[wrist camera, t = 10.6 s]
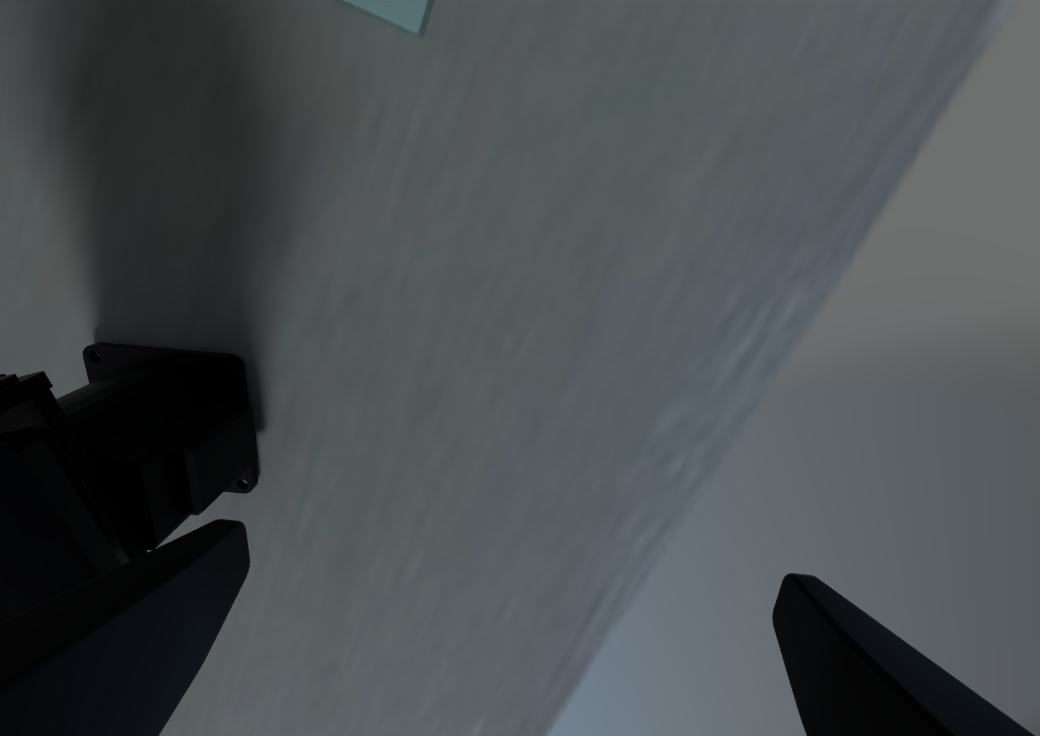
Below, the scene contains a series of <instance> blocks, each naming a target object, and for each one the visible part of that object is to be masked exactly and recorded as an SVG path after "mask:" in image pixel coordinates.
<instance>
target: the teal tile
mask: <svg viewBox="0 0 1040 736" xmlns="http://www.w3.org/2000/svg"><path fill="white" fill-rule="evenodd" d="M339 1H341V2H343V3H346V4H348V5H350V6H352V7H354V8H357V9H359V10H361V11H363V12H365V13H368V14H370V15H372V16H374V17H376V18H379V19H381V20H383V21H385V22H387V23H390V24H392V25H394V26H396V27H398V28H401V29H403V30H405V31H407V32H409V33H411V34H414V35H416V36H418V37H420V38H422V37H423V34H424V30H425V27H426V24H427V20H428V17H429V13H430V10H431V7H432V3H433V0H339Z"/></svg>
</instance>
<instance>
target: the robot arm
mask: <svg viewBox="0 0 1040 736" xmlns="http://www.w3.org/2000/svg"><path fill="white" fill-rule="evenodd" d="M97 353H98V354H99V355H100V356H101V359H100V358H99V357H98V355H97ZM83 358H84V363H85V367H86V371H87V376H88V380H89V384H88V385H86V386H84V387H82V388H79V389H77V390H75V391H73V392H71V393H69V394H66V395H64V396H62V397H60V398H58V399H56V398H55V397H54V395H53V393H52V392H51V390H50V388H51V387H53V386H52V384H51V382H50V381H49V379H48V377H47V376H46V374H45V372H44V371H41V372H37V373H33V374H29V375H25V376H21V377H17V376H16V374H12V375H7V376H6V375H5V374H1V375H0V736H159V735H160V733H161V731H162V730H163V728H164V726H165V725H166V723H167V722H168V720H169V718H170V717H171V715H172V714H173V712H174V710H175V709H176V707H177V706H178V704H179V702H180V701H181V699H182V697H183V696H184V694H185V693H186V691H187V689H188V688H189V686H190V685H191V683H192V681H193V680H194V678H195V676H196V675H197V673H198V671H199V670H200V668H201V666H202V664H203V663H204V661H205V659H206V657H207V655H208V653H209V651H210V649H211V647H212V645H213V643H214V641H215V639H216V637H217V635H218V633H219V631H220V629H221V627H222V625H223V623H224V621H225V619H226V617H227V615H228V613H229V611H230V609H231V607H232V605H233V603H234V601H235V599H236V597H237V595H238V593H239V591H240V589H241V587H242V585H243V583H244V581H245V579H246V577H247V574H248V571H249V567H250V556H249V548H248V541H247V533H246V528H245V525H244V524H243V523H242V522H240V521H235V520H224V519H218V520H215V521H212V522H210V523H208V524H206V525H204V526H202V527H200V528H198V529H196V530H194V531H192V532H189V533H187V534H185V535H183V536H181V537H179V538H177V539H175V540H173V541H171V542H169V543H167V544H165V545H162V546H160V547H158V548H156V547H157V546H159V545H160V544H161V543H162V542H163V541H164V540H165V539H166V538H167V537H168V536H169V535H170V534H171V533H172V532H173V531H174V530H175V529H176V528H177V527H178V526H179V525H180V524H182V523H183V522H184V521H185V520H186V519H187V518H188V517H189V516H190V515H199V514H201V513H202V512H203V511H204V510H205V509H206V508H207V507H208V506H209V505H210V504H211V503H212V502H213V501H214V500H215V499H217V498H218V497H219V496H220V495H221V494H222V493H223V492H233V493H249V492H251V491H252V490H253V489H254V487H255V486H256V485H257V484H258V476H257V468H256V459H257V457H258V455H257V446H256V438H255V429H254V420H253V412H252V408H251V406H250V405H249V400H248V392H247V384H246V375H245V367H244V363H243V361H242V360H241V359H240V358H239V357H238V356H236V355H233V354H224V353H213V352H201V351H190V350H178V349H167V348H156V347H144V346H133V345H121V344H110V343H95V344H92V345H90V346H87V347H86V348H84V350H83ZM227 363H228V364H230V365H231V366H232V367H233V371H231V370H229V369H228V368H227ZM242 479H243V480H245V481H246V482H247V483H248V484H246V483H244V482H243V481H242ZM155 548H156V549H155ZM147 550H152V551H150V552H147ZM773 626H774V630H775V633H776V637H777V640H778V644H779V647H780V650H781V654H782V657H783V660H784V664H785V667H786V671H787V674H788V677H789V681H790V684H791V688H792V691H793V694H794V698H795V702H796V705H797V708H798V711H799V715H800V718H801V721H802V724H803V726H804V729H805V732H806V735H807V736H1035V735H1033V734H1032V733H1031V732H1029V731H1028V730H1026V729H1025V728H1024V727H1022V726H1021V725H1020V724H1018V723H1017V722H1015V721H1014V720H1013V719H1011V718H1010V717H1009V716H1007V715H1006V714H1004V713H1003V712H1002V711H1000V710H999V709H997V708H996V707H995V706H993V705H992V704H991V703H989V702H988V701H986V700H985V699H984V698H982V697H981V696H979V695H978V694H977V693H975V692H974V691H973V690H971V689H970V688H969V687H967V686H966V685H964V684H963V683H962V682H960V681H959V680H957V679H956V678H955V677H953V676H952V675H950V674H949V673H948V672H946V671H945V670H943V669H942V668H941V667H940V666H938V665H937V664H935V663H934V662H933V661H931V660H930V659H928V658H927V657H926V656H924V655H923V654H921V653H920V652H918V651H917V650H916V649H915V648H913V647H912V646H910V645H909V644H908V643H906V642H905V641H904V640H902V639H901V638H900V637H898V636H897V635H895V634H894V633H893V632H891V631H890V630H888V629H887V628H886V627H884V626H883V625H881V624H880V623H879V622H877V621H876V620H875V619H873V618H872V617H870V616H869V615H868V614H866V613H865V612H864V611H862V610H861V609H859V608H858V607H857V606H855V605H854V604H853V603H851V602H850V601H848V600H847V599H846V598H844V597H843V596H842V595H840V594H839V593H837V592H836V591H835V590H833V589H832V588H831V587H829V586H828V585H826V584H825V583H824V582H822V581H821V580H819V579H818V578H816V577H815V576H812V575H806V574H796V573H790V574H787V575H786V576H785V577H784V579H783V581H782V584H781V587H780V591H779V594H778V597H777V600H776V603H775V606H774V609H773Z"/></svg>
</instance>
